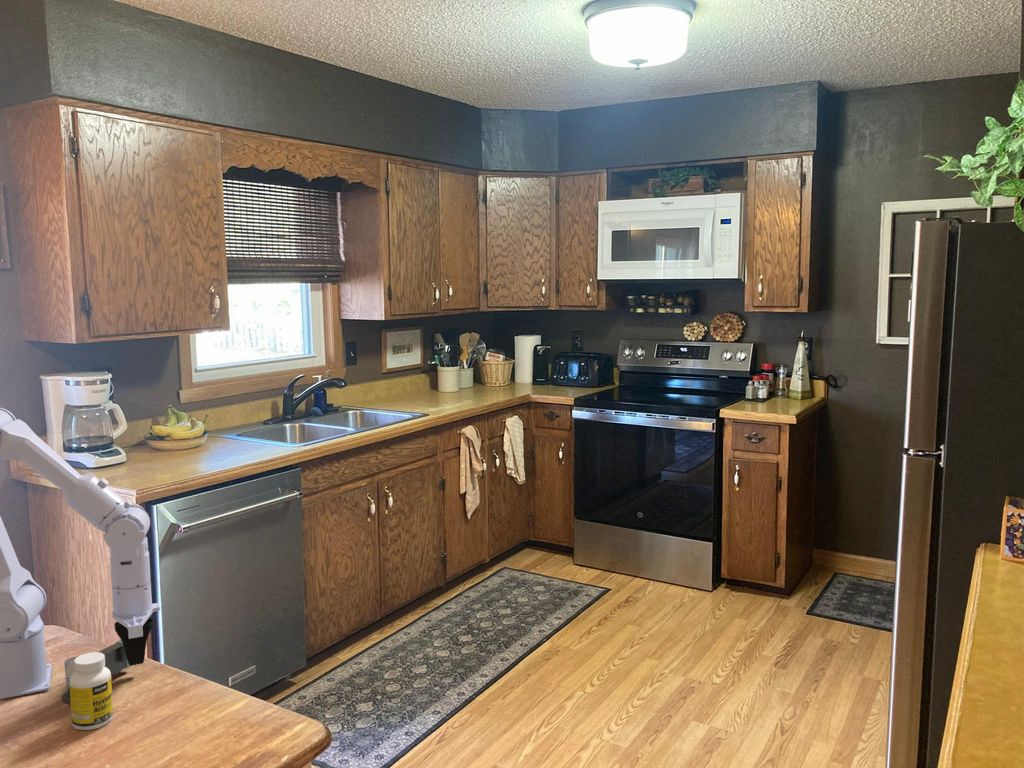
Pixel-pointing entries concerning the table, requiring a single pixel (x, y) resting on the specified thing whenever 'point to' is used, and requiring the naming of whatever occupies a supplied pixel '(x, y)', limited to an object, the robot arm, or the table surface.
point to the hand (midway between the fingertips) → (136, 663)
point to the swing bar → (113, 661)
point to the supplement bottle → (90, 692)
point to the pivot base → (66, 698)
